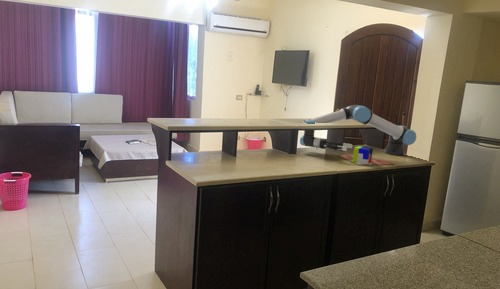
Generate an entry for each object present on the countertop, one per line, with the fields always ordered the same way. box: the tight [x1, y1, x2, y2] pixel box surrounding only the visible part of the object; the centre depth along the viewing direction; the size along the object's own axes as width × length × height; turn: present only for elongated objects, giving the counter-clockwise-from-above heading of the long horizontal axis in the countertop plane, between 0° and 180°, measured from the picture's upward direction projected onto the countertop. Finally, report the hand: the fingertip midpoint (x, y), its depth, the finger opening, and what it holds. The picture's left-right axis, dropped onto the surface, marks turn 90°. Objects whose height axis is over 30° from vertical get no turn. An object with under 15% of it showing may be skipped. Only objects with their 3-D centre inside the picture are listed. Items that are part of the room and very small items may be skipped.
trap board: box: [336, 154, 395, 166], centre depth 281 cm, size 29×29×1 cm
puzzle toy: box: [351, 145, 374, 164], centre depth 271 cm, size 10×10×10 cm
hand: (349, 147), depth 275 cm, fingers open, 13 cm apart
